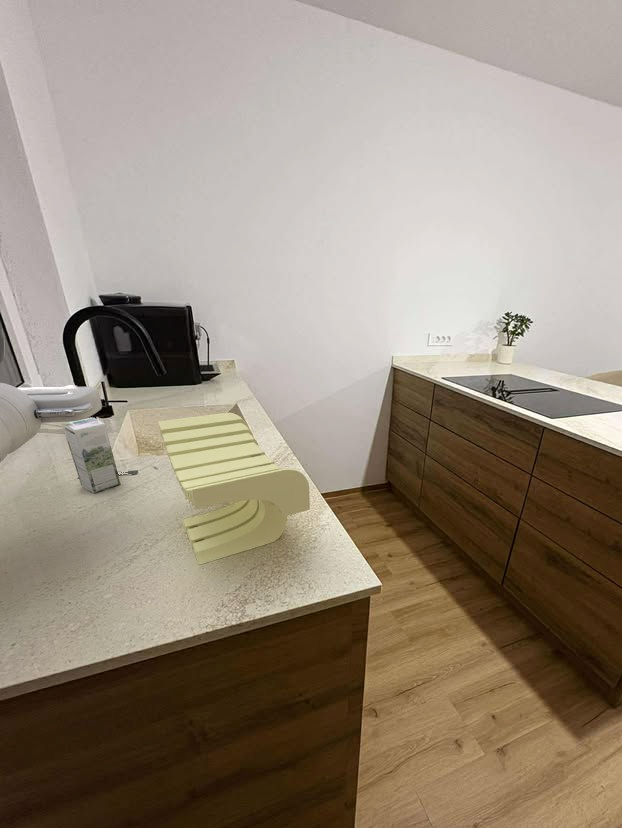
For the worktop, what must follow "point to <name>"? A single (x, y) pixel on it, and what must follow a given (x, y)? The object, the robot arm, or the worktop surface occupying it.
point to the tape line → (127, 472)
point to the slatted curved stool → (230, 485)
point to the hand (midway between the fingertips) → (41, 391)
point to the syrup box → (92, 454)
